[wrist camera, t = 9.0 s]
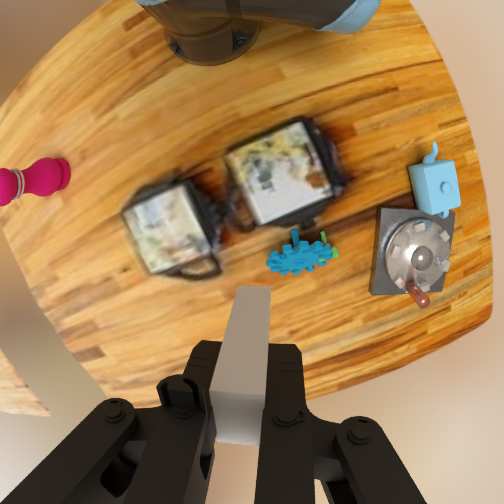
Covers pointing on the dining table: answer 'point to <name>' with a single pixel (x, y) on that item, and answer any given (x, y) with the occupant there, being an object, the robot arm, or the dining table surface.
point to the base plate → (385, 228)
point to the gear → (301, 255)
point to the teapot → (435, 185)
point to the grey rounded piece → (417, 257)
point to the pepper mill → (34, 179)
